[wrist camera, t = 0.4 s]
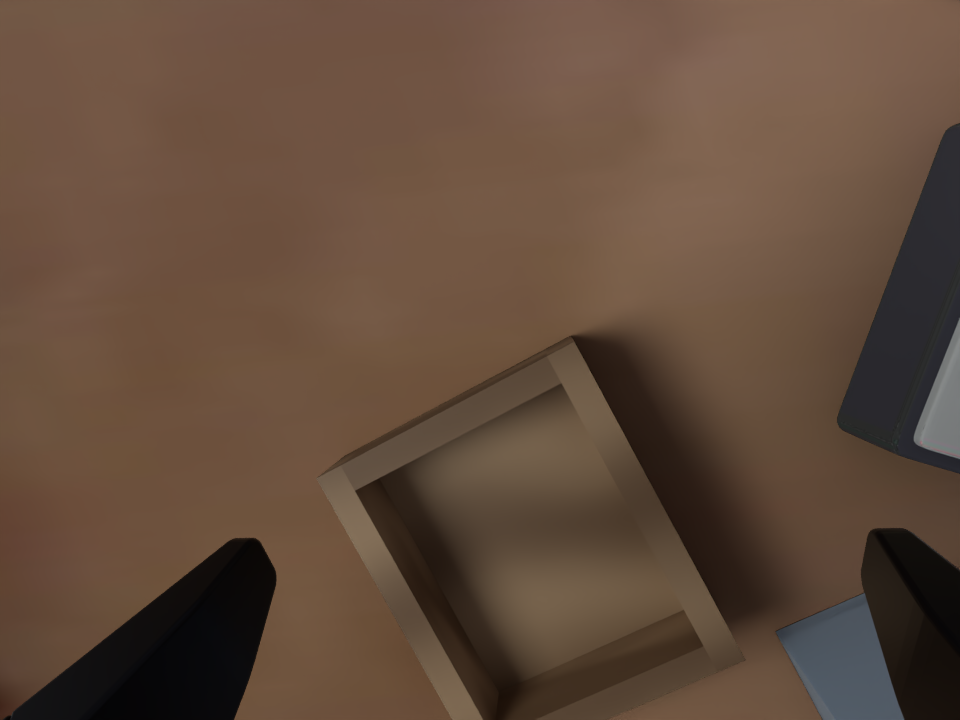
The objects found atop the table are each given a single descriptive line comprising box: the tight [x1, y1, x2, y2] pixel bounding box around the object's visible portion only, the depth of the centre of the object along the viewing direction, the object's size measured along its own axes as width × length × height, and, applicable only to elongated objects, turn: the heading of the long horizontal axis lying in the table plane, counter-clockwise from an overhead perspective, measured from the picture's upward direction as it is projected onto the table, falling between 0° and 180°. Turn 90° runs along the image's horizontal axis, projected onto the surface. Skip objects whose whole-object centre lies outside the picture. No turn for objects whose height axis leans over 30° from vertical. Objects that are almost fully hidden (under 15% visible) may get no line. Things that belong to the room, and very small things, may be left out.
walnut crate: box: [316, 336, 745, 720], centre depth 22 cm, size 12×10×3 cm
